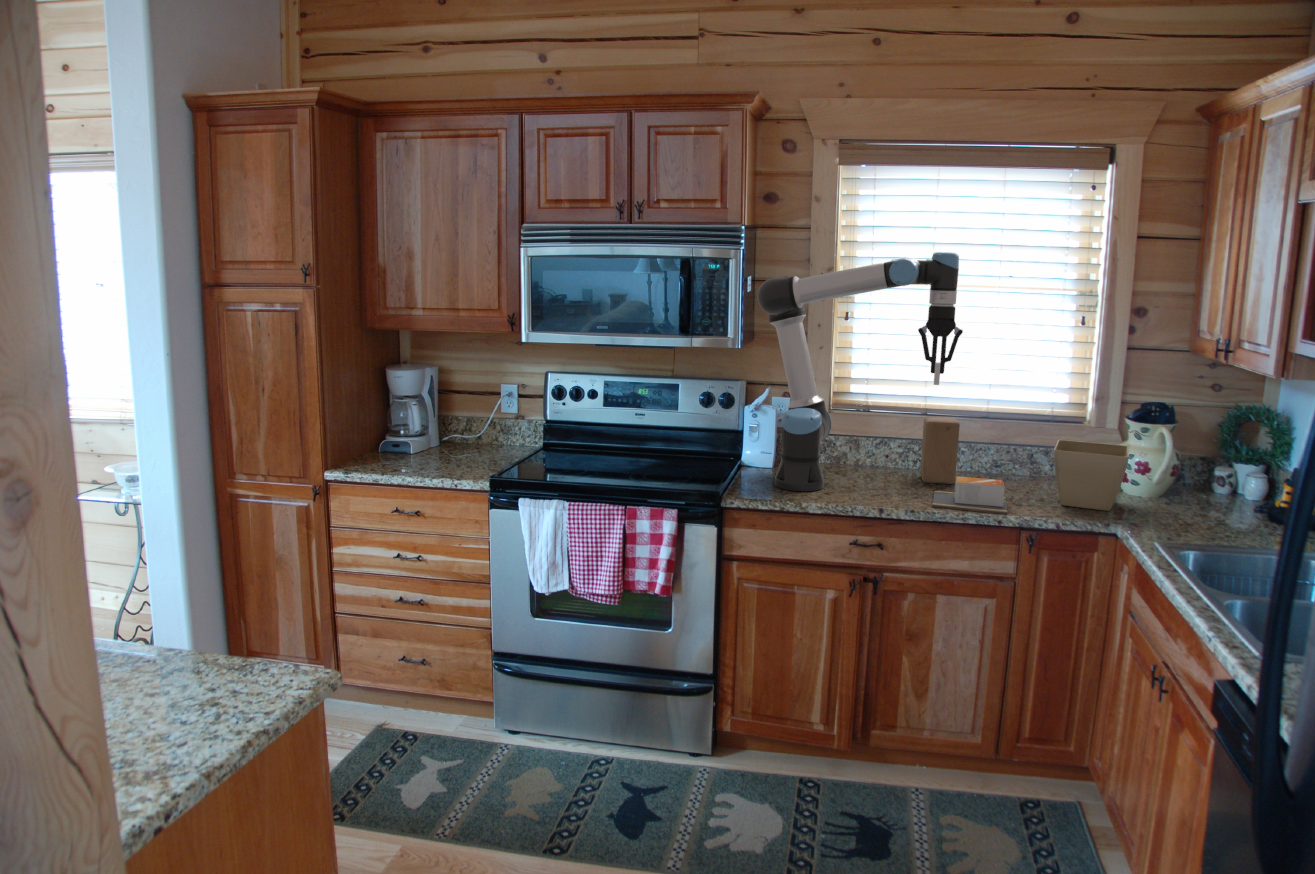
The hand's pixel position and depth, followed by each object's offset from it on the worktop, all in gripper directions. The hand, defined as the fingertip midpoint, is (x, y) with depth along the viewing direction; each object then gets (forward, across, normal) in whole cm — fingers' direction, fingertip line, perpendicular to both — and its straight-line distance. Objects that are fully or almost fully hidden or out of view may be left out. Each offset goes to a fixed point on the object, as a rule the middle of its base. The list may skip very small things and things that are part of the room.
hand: (936, 384), depth 268 cm
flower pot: (+33, +44, -1) cm, 55 cm away
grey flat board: (+32, +12, -14) cm, 37 cm away
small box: (+29, +8, -14) cm, 33 cm away
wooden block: (+33, +2, +12) cm, 35 cm away
